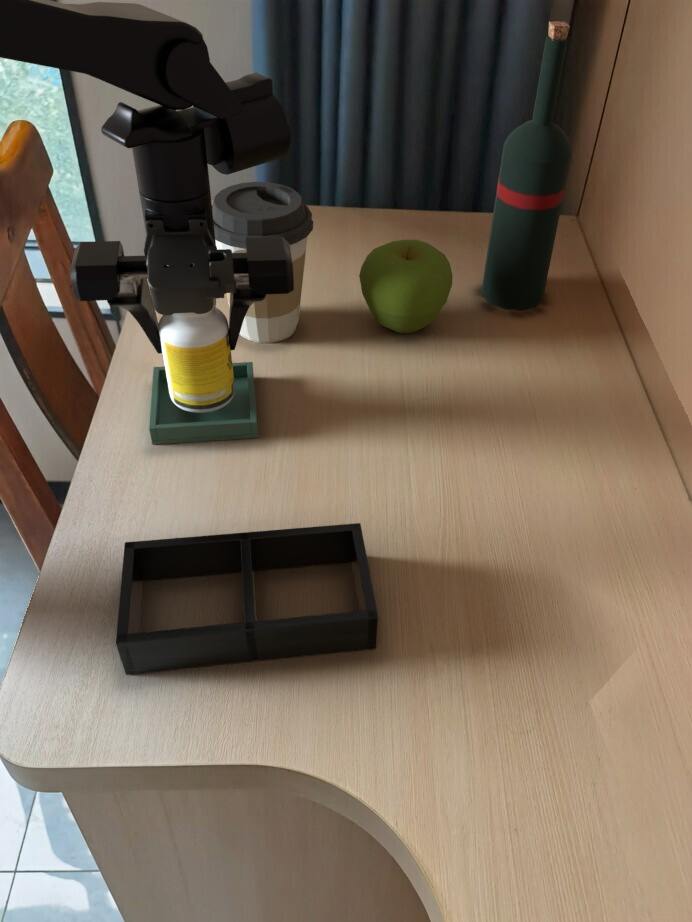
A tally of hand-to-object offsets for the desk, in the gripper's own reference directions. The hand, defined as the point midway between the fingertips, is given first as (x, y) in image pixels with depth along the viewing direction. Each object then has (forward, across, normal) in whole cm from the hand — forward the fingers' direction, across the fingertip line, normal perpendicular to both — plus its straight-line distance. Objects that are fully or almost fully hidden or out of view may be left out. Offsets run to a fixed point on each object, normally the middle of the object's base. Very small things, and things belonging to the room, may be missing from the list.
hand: (196, 349), depth 77 cm
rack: (+7, +4, -26) cm, 28 cm away
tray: (+7, 0, 0) cm, 7 cm away
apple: (+7, +23, +14) cm, 28 cm away
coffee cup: (+7, +7, +15) cm, 18 cm away
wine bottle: (+7, +38, +21) cm, 44 cm away
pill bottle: (+6, 0, 0) cm, 6 cm away
